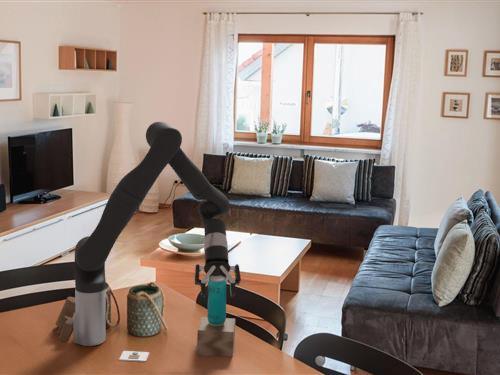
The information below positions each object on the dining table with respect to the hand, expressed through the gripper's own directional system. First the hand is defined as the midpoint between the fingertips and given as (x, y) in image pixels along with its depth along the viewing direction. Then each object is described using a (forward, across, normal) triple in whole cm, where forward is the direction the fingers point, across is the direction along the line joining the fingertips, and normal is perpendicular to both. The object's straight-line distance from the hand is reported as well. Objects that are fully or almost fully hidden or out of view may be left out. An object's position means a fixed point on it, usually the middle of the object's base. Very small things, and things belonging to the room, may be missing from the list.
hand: (218, 296), depth 205 cm
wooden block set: (0, -47, +25) cm, 53 cm away
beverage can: (+6, 0, +8) cm, 10 cm away
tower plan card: (+15, -25, +10) cm, 31 cm away
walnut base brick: (+12, 0, +13) cm, 18 cm away
